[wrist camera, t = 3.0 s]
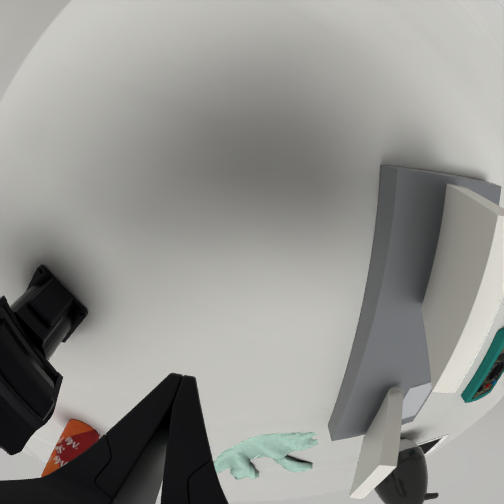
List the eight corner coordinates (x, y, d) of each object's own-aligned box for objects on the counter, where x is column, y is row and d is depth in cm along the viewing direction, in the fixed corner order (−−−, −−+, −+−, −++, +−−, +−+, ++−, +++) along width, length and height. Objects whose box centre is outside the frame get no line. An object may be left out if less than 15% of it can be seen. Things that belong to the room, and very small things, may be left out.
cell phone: (429, 450, 41) (430, 452, 40) (375, 465, 40) (376, 468, 39) (448, 432, 38) (449, 434, 38) (393, 448, 37) (394, 451, 36)
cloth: (324, 416, 30) (328, 431, 28) (329, 469, 38) (331, 479, 36) (174, 435, 31) (172, 449, 29) (224, 483, 40) (223, 493, 37)
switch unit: (327, 425, 30) (331, 442, 27) (380, 164, 18) (398, 169, 15) (406, 408, 30) (412, 422, 28) (483, 180, 18) (502, 186, 16)
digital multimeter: (457, 396, 32) (464, 408, 29) (496, 327, 26) (507, 338, 23) (482, 385, 32) (490, 395, 29) (519, 318, 26) (529, 328, 24)
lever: (364, 433, 27) (348, 497, 19) (389, 385, 23) (379, 465, 15) (375, 435, 27) (361, 498, 19) (403, 387, 23) (396, 466, 15)
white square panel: (420, 305, 20) (431, 391, 12) (445, 182, 16) (497, 215, 8) (436, 307, 19) (454, 393, 11) (463, 186, 15) (524, 221, 7)
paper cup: (72, 411, 29) (43, 483, 16) (113, 438, 32) (93, 510, 19) (57, 419, 31) (31, 481, 18) (93, 444, 33) (74, 506, 20)
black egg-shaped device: (407, 449, 37) (428, 507, 23) (358, 464, 37) (375, 528, 23) (423, 424, 33) (453, 490, 19) (369, 443, 33) (392, 519, 19)
